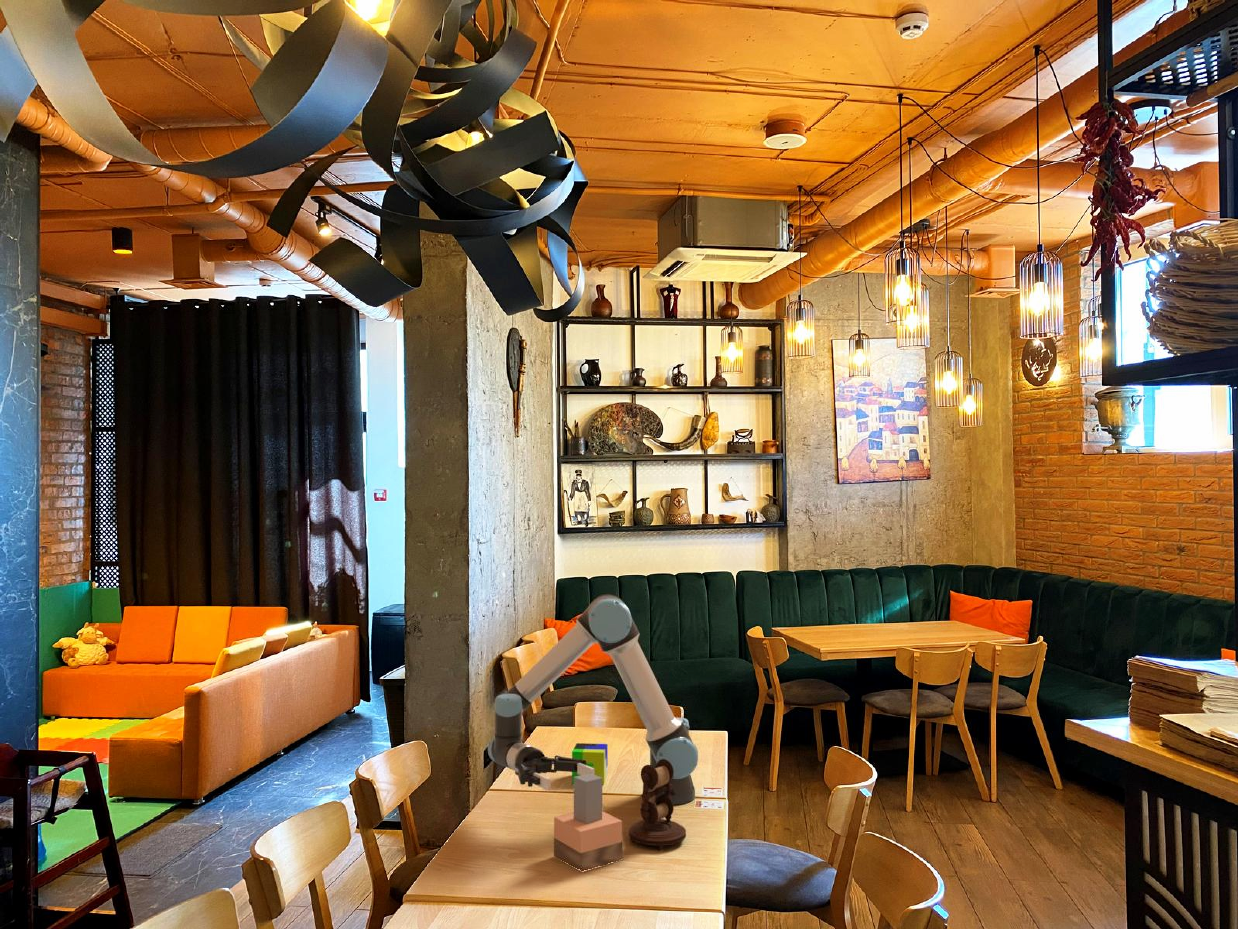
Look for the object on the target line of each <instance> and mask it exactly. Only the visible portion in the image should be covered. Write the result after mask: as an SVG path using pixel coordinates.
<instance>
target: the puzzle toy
mask: <svg viewBox="0 0 1238 929" xmlns="http://www.w3.org/2000/svg"><path fill="white" fill-rule="evenodd" d="M608 751H609V750H608V743H585V742H584V743H583V742H582V743H579V742H577V743H576V744H575V745H574V747H573V749H572V752H571V758H573V759H582V760H586V765H587V766H589V767H592V768H594V775H596V776H599V777H601V778H602V784H604V783H605V784H606V781H607V778H608V775H607V773H608V774H609V772H608V770H609V769H608V765H609V763H608V759H609V758H608ZM576 776H580V775H579V774H577V772H571V785H574V777H576ZM606 777H607V778H606ZM605 780H606V781H605ZM605 784H604V785H605Z"/></svg>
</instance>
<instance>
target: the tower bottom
mask: <svg viewBox="0 0 1238 929" xmlns="http://www.w3.org/2000/svg"><path fill="white" fill-rule="evenodd" d="M554 856H555V857H556V858H555V857H554ZM553 857H554V858H555V859H557V858H558V859H560V860H562V861H564V862H566V863H568V864H569V865H571V866H573V867H575V868H577V869H580V870H581V871H584V870H588V869H592V868H595V867H598V866H602V867H604V866H603V865H606V864H608V863H611V862H615V863H617V862H616V861H618V862H620V861H619V860H621V859H622V860H623V841H622V842H620V843H616V844H612V845H609V846H605V847H602V848H598V849H594V850H591V851H587V852H584V853H579V852H578V851H576V850H574V849H573V848H571V847H569V846H568V845H566V844H564V843H563V842H561V841H559V840H558V839H556V838H554V837H553ZM558 859H557V860H558ZM560 860H559V861H560ZM622 860H621V861H622ZM562 861H561V862H562ZM564 862H563V863H564ZM566 863H565V864H566ZM569 865H568V866H569ZM571 866H570V867H571ZM606 866H607V865H606ZM573 867H572V868H573ZM575 868H574V869H575ZM577 869H576V870H577Z"/></svg>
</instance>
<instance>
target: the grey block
mask: <svg viewBox="0 0 1238 929" xmlns="http://www.w3.org/2000/svg"><path fill="white" fill-rule="evenodd" d="M602 811H603V785H602V778H601V777H599V776H596V775H593V774H590V773H589V774H585V775H580V776H576V777H574V784H573V812H574V819H576V820H578V821H581V822H583V823H585V824H588V823H591V822H595V821H598V820H602Z"/></svg>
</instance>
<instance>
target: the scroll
mask: <svg viewBox="0 0 1238 929" xmlns="http://www.w3.org/2000/svg"><path fill="white" fill-rule="evenodd" d="M673 775H674V770H673V766H672V764H671V763H670V762H669V761H668V760H666V759H661V760H659V761H658V763H657V765H656V768H654V767H653V766H651V765H650V764H646V765H643V766H642V768H641V771H640V779H641V781H642V794H641V804H640V817H641V819H642V820H640V821H638V822H635V823H634V824H633V825H631V826H630V827H629V828H628V837H629V841H630V842H635V843H639V844H641V845H644V846H645V845H647V846H658V848H659V850H660V851H661V850H662V851H663V849H664V846H670V845H671V846H672V845H674V844H679V843H680V842H683V841H684V840H685V839H686V836H687V830H686V828H685V827H684V826H683V825H682V824H680V823H678V822H676V821H673V820H671V819H672V815H673V813H674V805H673V803H672V801H671V796H670V792H671V790H672V784H671V783H670V782H671V779H672V777H673ZM662 785H664V786H662ZM660 786H662V787H661V788H657V787H660ZM662 792H666V795H660V796H659V797H658V798H657V800H656V803H655V796H656V795H659V794H661V793H662ZM664 818H665V819H664Z"/></svg>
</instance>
